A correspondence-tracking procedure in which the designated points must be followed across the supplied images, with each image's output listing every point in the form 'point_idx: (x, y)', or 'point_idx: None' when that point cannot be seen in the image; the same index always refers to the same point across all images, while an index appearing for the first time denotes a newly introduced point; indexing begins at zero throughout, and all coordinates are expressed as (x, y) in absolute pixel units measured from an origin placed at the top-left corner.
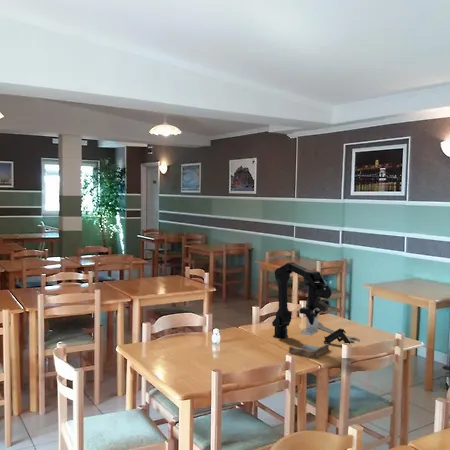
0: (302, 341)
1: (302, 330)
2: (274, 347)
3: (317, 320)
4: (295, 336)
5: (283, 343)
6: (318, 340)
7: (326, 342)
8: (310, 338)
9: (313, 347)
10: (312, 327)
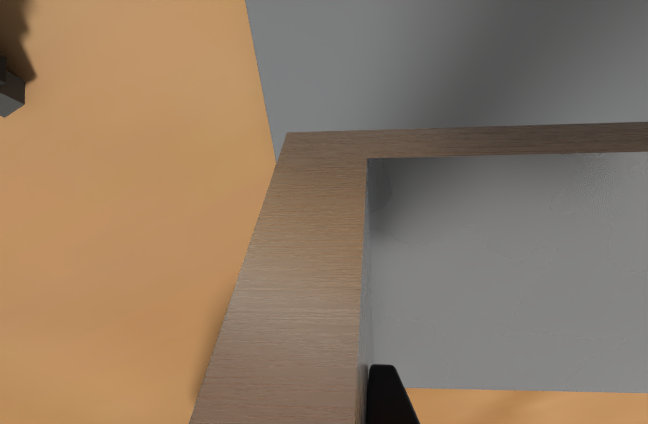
0: (199, 297)
1: (600, 383)
2: (594, 402)
3: (292, 389)
4: (129, 397)
5: (408, 392)
6: (10, 192)
7: (2, 59)
8: (42, 282)
9: (318, 95)
10: (369, 303)
